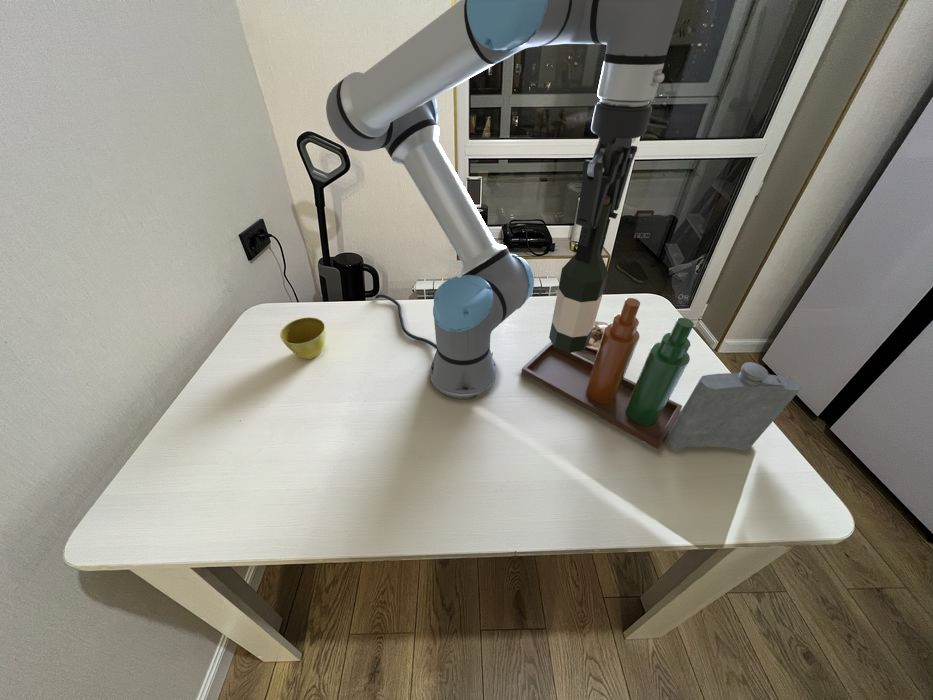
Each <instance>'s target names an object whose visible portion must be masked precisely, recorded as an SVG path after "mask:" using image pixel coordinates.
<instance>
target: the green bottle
mask: <svg viewBox="0 0 933 700" xmlns="http://www.w3.org/2000/svg"><path fill="white" fill-rule="evenodd" d="M694 326H695V323H694V322H693V321H692V320H691V319H689V318H686V317H678V318H677V319H676V321H675V323H674V325H673V327H672V329H671V332H667V333H664V334H663V336H662V338H661V339H660V342H656V343H654V344H653V345H652V346H651V347H650V350H649V352H648V354H647V357H646V359H645V362H644V364H643V366H642V368H641V370H640V373H639V375H638V378H637V380H636V381H635V383H636V385H635V387H634V389H633V392H632V394H631V396H630V398H629V401H628V403H627V405H626V408H625V413H626V415H627V417H628V418H629V419H630V420H631V421H632V422H634V423H635V424H637V425H640V426H652V425H654V424H655V423H656V422H657V420H658V419H659V417H660V415H661V413H662V411H663V409H664V407H665V406H666V404H667V402H668V400H670V398H671V397H672V394H673V392H674V391H675V389H676V387H677V386H678V383H679V381H680V380H681V377H683V374H684V372H685V371H686V368H687V366H688V365H689V363H690V361H691V359H690V358H691V357H690V355H689V353H688V351H689V349H690V347H691V341H690V340H689V339H688V338H689V336H690V334H691V332H692V329H693V328H694Z"/></svg>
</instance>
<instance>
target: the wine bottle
mask: <svg viewBox="0 0 933 700" xmlns="http://www.w3.org/2000/svg"><path fill="white" fill-rule="evenodd" d="M611 205H612V203H611V202H610V197H609V196H607V195H606V198H605V201H604V204H603V208H602V211H601V214H600V217H599V221H598V224H597V226H599V231H598V235H597V239H596V243H595V247H594V251H593V255H592V260H591V262H590V264H587V263H584V262H581V261H579V260H575V256H576V253H575V254H574V255H573V256H572V257H571V258H570V259H569V261H567V262H566V264H564V266H563V267H561V272H560V277H559V282H558V288H557V293H556V299H555V303H554V309H553V313H552V320H551V325H550V330H549V336H548V338H549V340H550V342H552V344H553V346H554V347H555V348H557V349H560V350H562V351H565V352H567V353H580V352H585V351H584V349H585V348H586V346H587V345H588V344H589V341H590V337H591V334H592V330H593V327H594V323H595V321H597V316H598V313H599V308H600V305H601V302H602V297H603V296H604V295H603V294H604V291H605V289H606V284H607V280H608V277H609V274H610V273H609V271H608V268H607V266H606V263H605V261H604V259H603V255H602V254H601V252H600V249H601V245H602V241H603V237H604V233H605V229H606V225H607V221H608V217H609V213H610V209H611ZM609 218H610V217H609Z"/></svg>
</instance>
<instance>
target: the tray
mask: <svg viewBox="0 0 933 700" xmlns="http://www.w3.org/2000/svg"><path fill="white" fill-rule="evenodd" d="M593 365H594V362H593V361H592V360H589V359H588V358H585V357H583V356H582V355H579V354H577V353H576V352H573V353H567V352H565V351H562V350H560V349H557V348H555V347H554V346H553V344H552V342H551V341H549V343H548V344H546V345H545V346H544V347H543V348H542V349H541V350H540V351H539V352H538V353H537V354H535V356H533V358H531V359H530V360H529V361H528V362H527V363H526V364H525V365H524V366H522V367H521V371H520V372H521V374H522V375H524V376H526V377H528V378H529V379H531V380H533V381H534V382H536V383H538V384H540V385H541V386H543V387H545V388H547V389H548V390H550V391H552V392H554V393H556V394H558V395H559V396H562V397H564V398H565V399H566V400H568V401H570V402H572V403H574V404H576V405H577V406H579V407H581V408H583V409H585V410H587V411H588V412H590V413H592V414H593V415H595V416H597V417H598V418H601V419H602V420H604V421H606V422H608V423H610V424H611V425H613V426H615V427H617V428H618V429H620V430H622V431H623V432H625V433H627V434H629V435H631V436H633V437H634V438H636V439H638V440H640V441H642V442H643V443H645V444H647V445H648V446H650V447H652V448H654V449H656V450H659V449H660V447H661V445H662V443H663V442H664V440H665V439H666V436H667V435H668V433H669V431H670V430H671V428H672V426H673V424H674V423H675V421H676V419H677V418H678V416H679V414H680V412H681V411H682V409H683V405H682V404H680V403H677V402H675V401H674V400H671V399H669V400H668V402H667V404H666V406H665V407H664V409H663V411H662V413H661V415H660V417H659V419H658V420H657V422H656V423H655V424H654V425H652V426H640V425H637V424H635V423H634V422H632V421H631V420H630V419H629V418H628V417H627V415H626V413H625V408H626V405H627V403H628V401H629V398H630V396H631V394H632V392H633V389H634V387H635V385H636V381H635V382H634V381H633V380H631V379H629V378H627V377H624V378H623V381H622V383H621V386H620V389H619V391H618V394H617V396H616V399H615V400H614V401H613V402H612V403H609V404H600V403H597V402H595V401H593V400H592V399H590V398H589V397H588V395H587V393H586V387H587V384H588V381H589V378H590V374H591V371H592V368H593Z"/></svg>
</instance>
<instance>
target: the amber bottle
mask: <svg viewBox="0 0 933 700" xmlns="http://www.w3.org/2000/svg"><path fill="white" fill-rule="evenodd" d="M640 306H641V301H639V300H638V299H637V298H633V297H628V298H625V299H624V303H623V305H622V308H621V311H620V313H617V314H615V315H614V317H613V319H612V322H611V323H607V324H608V325H607V326H606V327H605V329H604V332H603V335H602V339H601V342H600V345H599V348H598V352H597V355H595V358H594V365H593V368H592V371H591V374H590V378H589V381H588V384H587V387H586V393H587V395H588V397H589V398H590V399H592V400H593V401H595V402H597V403H600V404H609V403H612V402H613V401H614V400H615V399H616V396H617V394H618V391H619V389H620V386H621V383H622V381H623V378H625V375H626V373H627V371H628V368H629V366H630V363H631V361H632V358H633V355H634V353H635V351H636V348H637V345H638V343H639V341H640V336H641V335H640V332H639V331H638V330H637V329H638V326H639V323H640V321H639V319H638V318H637V314H638V312H639V309H640Z"/></svg>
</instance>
